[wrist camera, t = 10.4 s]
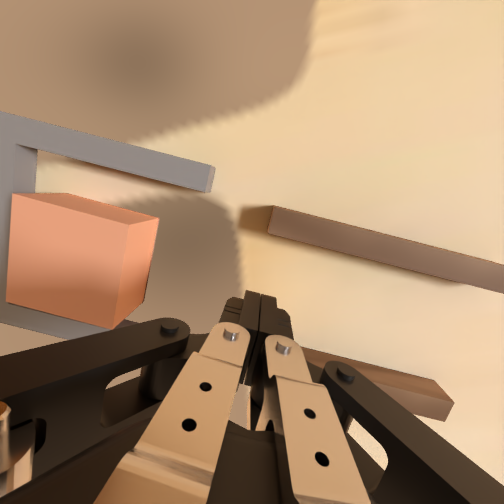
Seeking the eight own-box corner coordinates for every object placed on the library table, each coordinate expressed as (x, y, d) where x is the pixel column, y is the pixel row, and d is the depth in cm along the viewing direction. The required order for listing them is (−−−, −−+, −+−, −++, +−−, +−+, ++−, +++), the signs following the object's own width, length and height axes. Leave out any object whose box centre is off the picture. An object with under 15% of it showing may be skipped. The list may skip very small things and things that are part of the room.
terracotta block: (69, 193, 17) (12, 193, 13) (159, 217, 17) (129, 225, 13) (60, 278, 18) (5, 301, 15) (144, 301, 19) (112, 329, 15)
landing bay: (14, 116, 16) (-11, 108, 15) (215, 167, 16) (210, 165, 15) (6, 308, 19) (-15, 318, 17) (176, 351, 19) (169, 365, 18)
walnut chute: (273, 205, 16) (274, 206, 15) (490, 261, 17) (521, 270, 15) (235, 349, 19) (231, 368, 17) (426, 398, 19) (444, 421, 17)
